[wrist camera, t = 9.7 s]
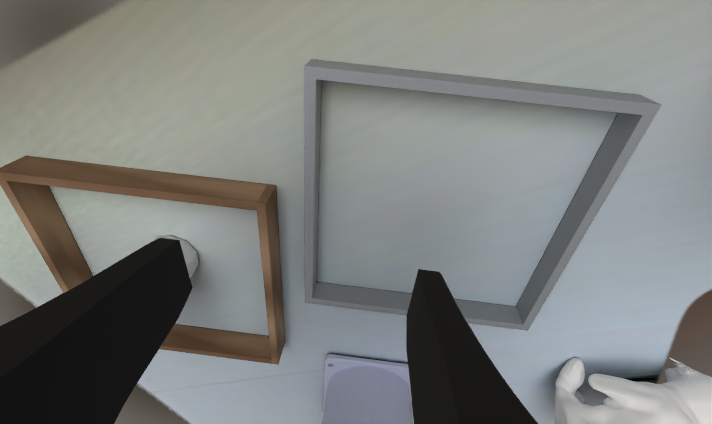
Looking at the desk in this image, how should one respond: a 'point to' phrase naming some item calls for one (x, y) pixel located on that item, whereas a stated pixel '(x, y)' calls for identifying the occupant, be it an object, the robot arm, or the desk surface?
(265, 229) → the brown wooden frame
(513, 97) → the grey square frame
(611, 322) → the desk surface
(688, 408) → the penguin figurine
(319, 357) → the desk surface
